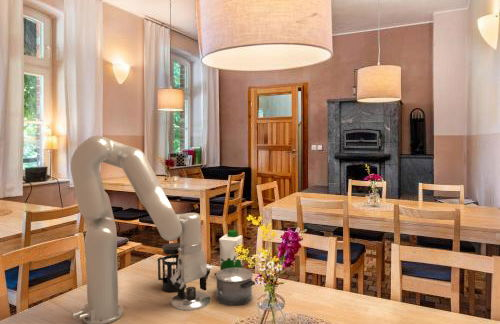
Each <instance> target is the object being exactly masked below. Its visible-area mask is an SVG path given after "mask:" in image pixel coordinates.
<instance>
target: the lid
mask: <svg viewBox="0 0 500 324" xmlns="http://www.w3.org/2000/svg"><path fill="white" fill-rule="evenodd" d="M185 290H186V291H184V295H185V298H184V299H183V300H182V299H181V298H179V297H178V295H177V294H176V295H174V296H173V297H172V299H171V303H170V304H171V306H172V307H173V308H174V309H176V310H178V311H196V310H201V309H203V308H205V307H207V306H208V305H210V304H211V300H212V299H211V296H210V295H209V294H208V293H206V292H204V291H198V290H197V288H196V286H188V287H186V288H185Z"/></svg>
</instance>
